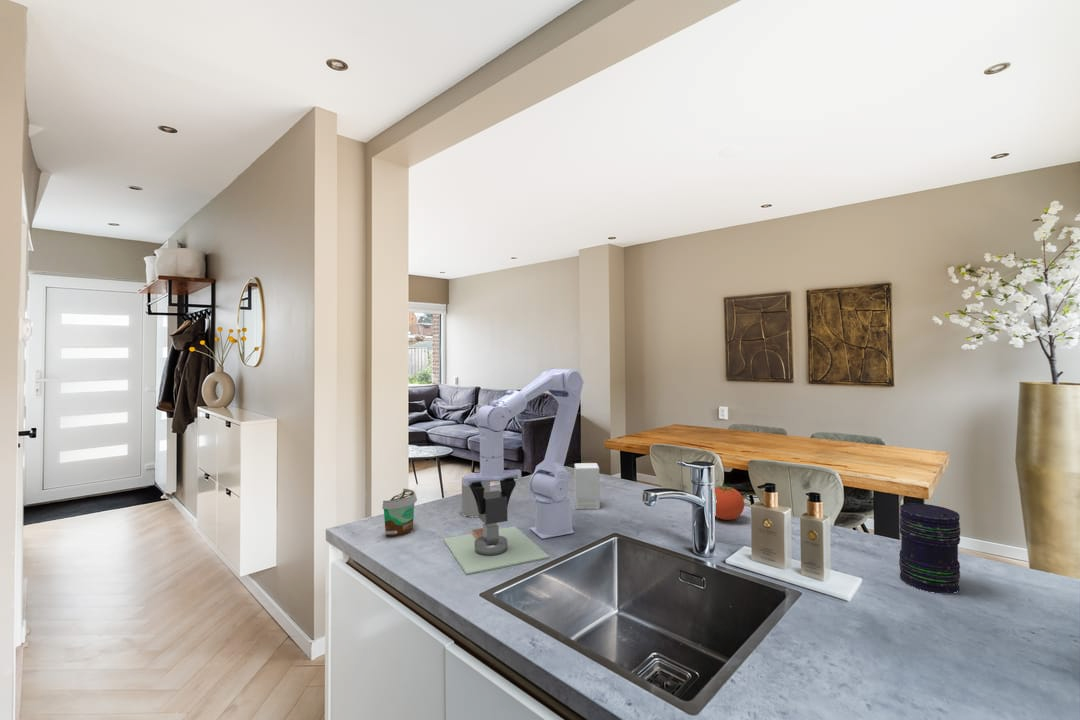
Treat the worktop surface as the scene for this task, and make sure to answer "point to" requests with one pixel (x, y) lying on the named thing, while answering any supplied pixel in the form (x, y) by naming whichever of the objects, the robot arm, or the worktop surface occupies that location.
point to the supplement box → (587, 486)
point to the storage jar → (929, 547)
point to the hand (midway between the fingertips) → (492, 511)
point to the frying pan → (489, 540)
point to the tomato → (728, 503)
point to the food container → (399, 513)
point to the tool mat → (516, 554)
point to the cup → (471, 500)
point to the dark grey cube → (494, 507)
